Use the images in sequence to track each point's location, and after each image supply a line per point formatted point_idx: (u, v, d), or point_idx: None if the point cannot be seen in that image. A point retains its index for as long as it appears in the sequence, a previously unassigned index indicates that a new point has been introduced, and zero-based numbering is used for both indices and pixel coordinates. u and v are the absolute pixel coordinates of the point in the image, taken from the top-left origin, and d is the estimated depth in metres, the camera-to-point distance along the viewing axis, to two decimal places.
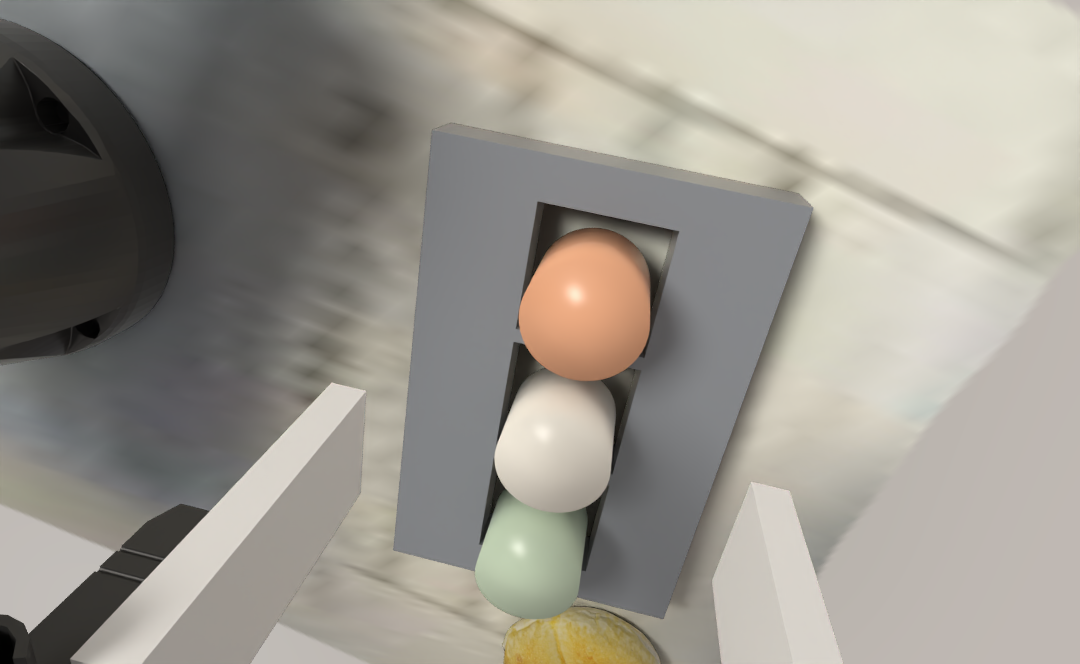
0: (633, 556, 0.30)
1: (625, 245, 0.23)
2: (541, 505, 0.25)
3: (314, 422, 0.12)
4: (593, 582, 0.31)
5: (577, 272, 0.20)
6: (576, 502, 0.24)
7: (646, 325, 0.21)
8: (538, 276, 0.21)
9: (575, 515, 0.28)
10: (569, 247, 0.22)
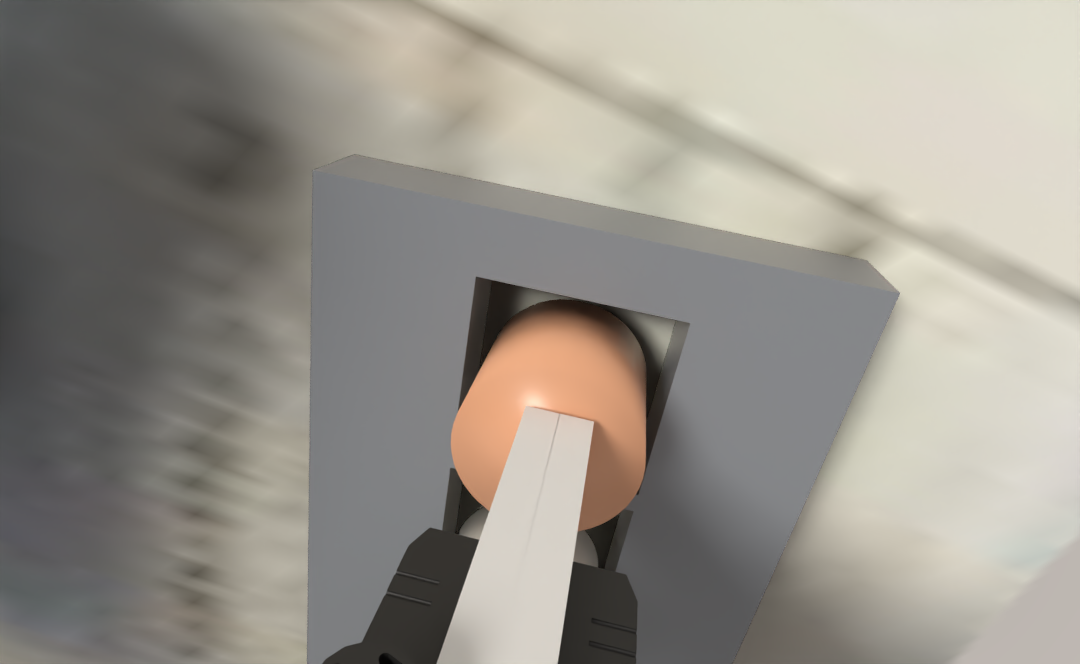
0: None
1: (610, 328, 0.16)
2: None
3: (530, 446, 0.12)
4: None
5: (535, 385, 0.13)
6: None
7: (640, 462, 0.14)
8: (477, 389, 0.14)
9: None
10: (527, 337, 0.15)
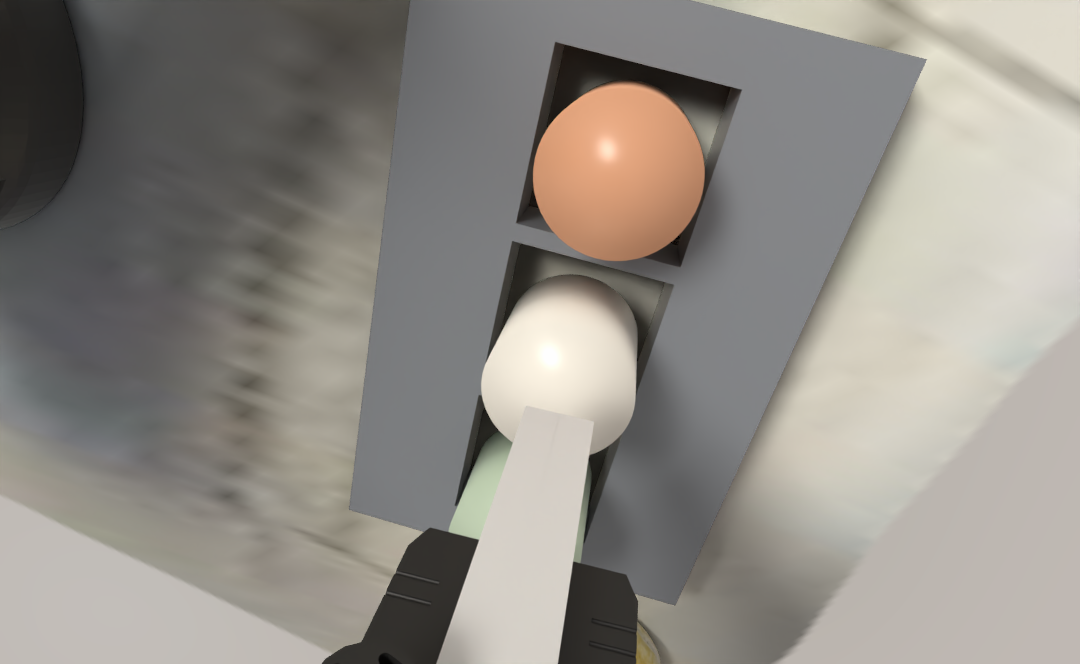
0: (644, 526, 0.24)
1: (670, 97, 0.18)
2: None
3: (529, 446, 0.12)
4: (592, 557, 0.25)
5: (614, 106, 0.16)
6: None
7: (699, 184, 0.16)
8: (563, 111, 0.16)
9: None
10: (601, 87, 0.17)
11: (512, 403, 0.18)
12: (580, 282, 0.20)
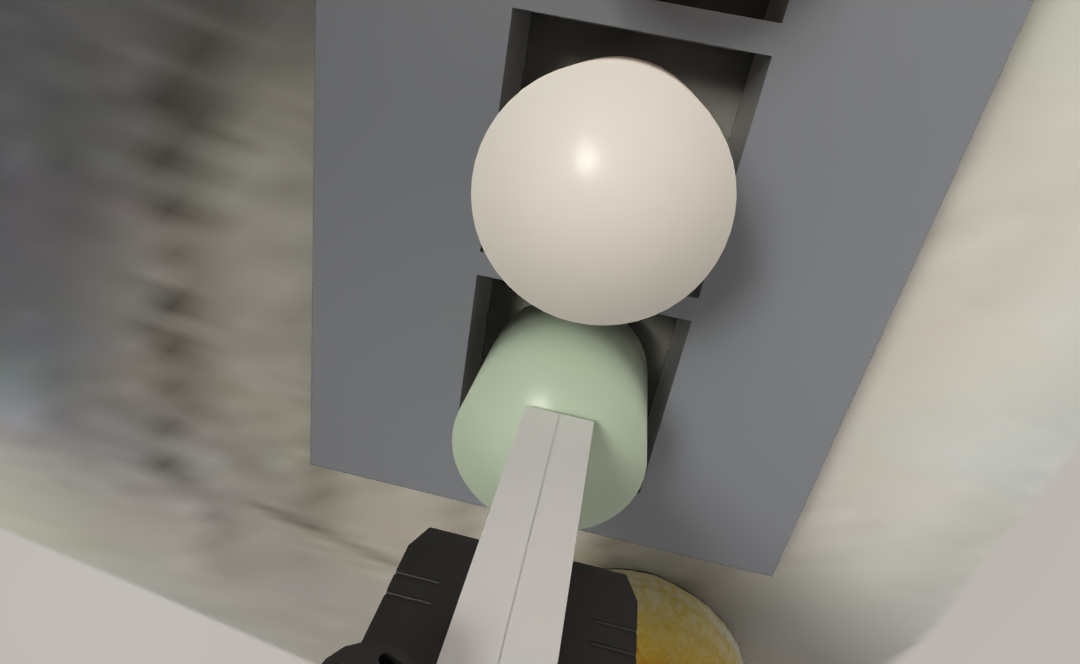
0: (727, 461, 0.17)
1: None
2: (573, 309, 0.11)
3: (529, 446, 0.12)
4: (652, 513, 0.18)
5: None
6: (651, 298, 0.11)
7: None
8: None
9: (631, 351, 0.16)
10: None
11: (525, 229, 0.11)
12: (623, 57, 0.13)
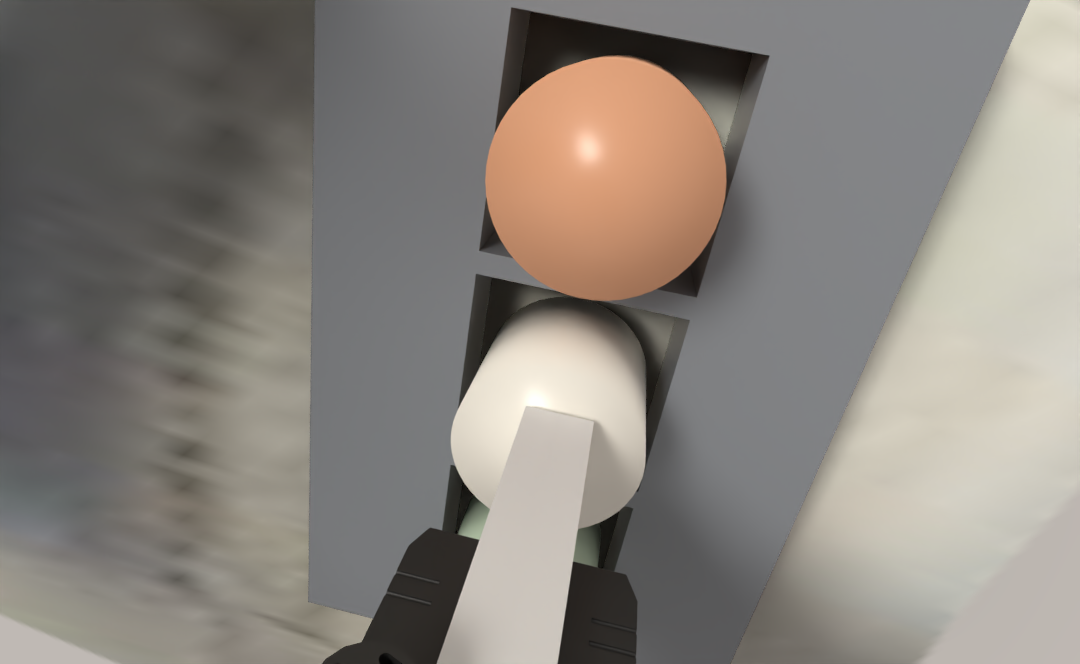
0: (668, 615, 0.20)
1: (671, 73, 0.13)
2: None
3: (530, 446, 0.12)
4: None
5: (592, 85, 0.11)
6: (587, 515, 0.15)
7: (719, 189, 0.11)
8: (519, 98, 0.11)
9: (583, 529, 0.18)
10: None
11: (491, 466, 0.15)
12: (571, 307, 0.16)
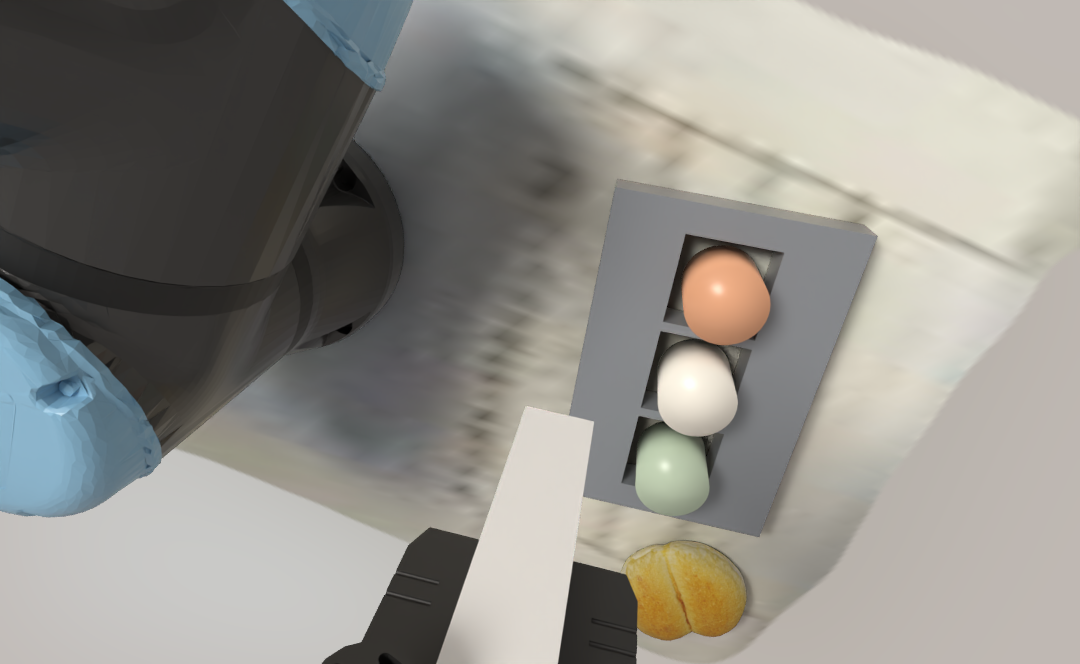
0: (738, 488, 0.41)
1: (746, 256, 0.35)
2: (687, 431, 0.37)
3: (529, 446, 0.12)
4: (707, 509, 0.42)
5: (725, 274, 0.33)
6: (712, 429, 0.36)
7: (768, 307, 0.33)
8: (699, 277, 0.33)
9: (700, 445, 0.40)
10: (713, 259, 0.34)
11: (673, 409, 0.36)
12: (699, 343, 0.38)
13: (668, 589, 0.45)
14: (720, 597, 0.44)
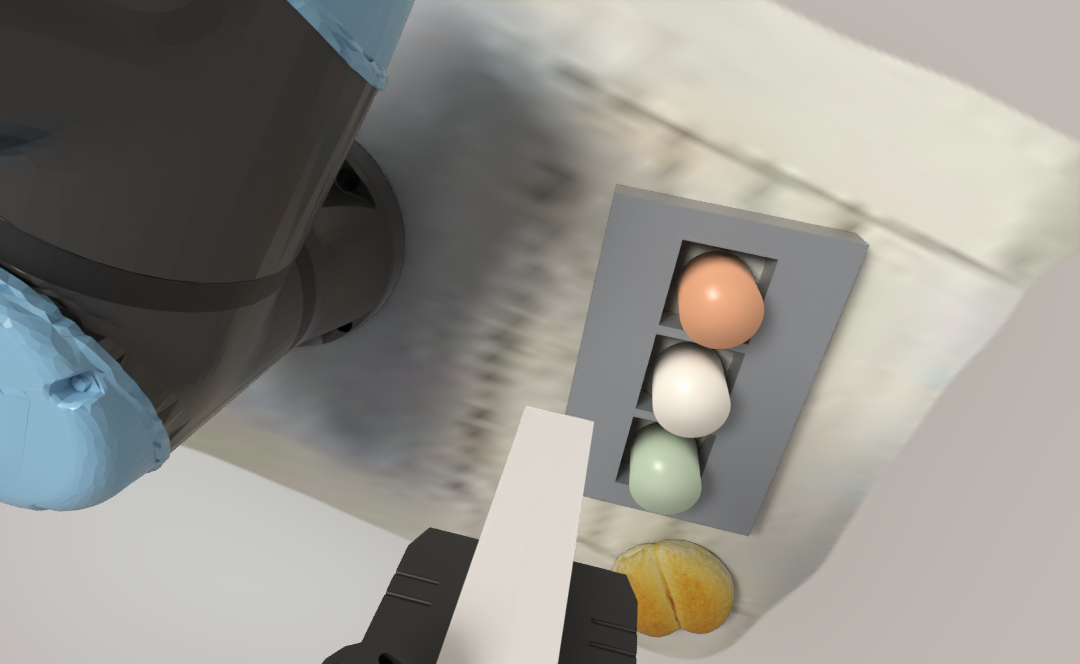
0: (730, 488, 0.42)
1: (741, 262, 0.36)
2: (681, 432, 0.37)
3: (529, 446, 0.12)
4: (698, 509, 0.43)
5: (720, 280, 0.33)
6: (705, 430, 0.37)
7: (761, 313, 0.34)
8: (695, 283, 0.34)
9: (692, 445, 0.41)
10: (709, 264, 0.35)
11: (668, 411, 0.37)
12: (694, 346, 0.39)
13: (658, 587, 0.46)
14: (708, 595, 0.45)
